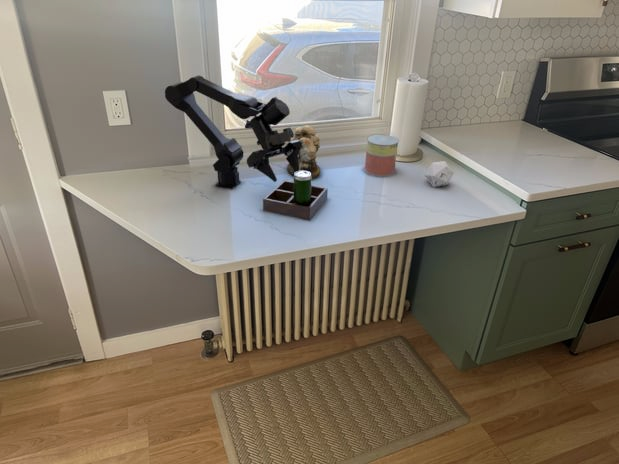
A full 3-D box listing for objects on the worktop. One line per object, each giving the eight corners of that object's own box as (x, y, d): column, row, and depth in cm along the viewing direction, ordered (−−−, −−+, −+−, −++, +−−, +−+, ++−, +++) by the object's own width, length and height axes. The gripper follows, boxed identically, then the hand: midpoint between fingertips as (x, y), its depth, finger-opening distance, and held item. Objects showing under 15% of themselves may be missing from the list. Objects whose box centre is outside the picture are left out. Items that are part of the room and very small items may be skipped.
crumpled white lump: (419, 186, 165) (432, 171, 156) (424, 166, 169) (437, 151, 160) (440, 195, 165) (454, 182, 156) (445, 176, 169) (460, 161, 160)
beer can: (299, 215, 141) (299, 178, 135) (290, 208, 144) (290, 172, 138) (314, 211, 143) (315, 175, 137) (304, 204, 147) (305, 168, 141)
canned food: (396, 176, 170) (400, 145, 163) (365, 176, 170) (368, 144, 163) (392, 165, 179) (396, 134, 173) (363, 164, 179) (365, 134, 173)
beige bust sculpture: (281, 163, 178) (281, 119, 170) (311, 160, 182) (312, 117, 173) (294, 181, 164) (295, 134, 155) (326, 178, 167) (328, 132, 158)
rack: (263, 210, 144) (262, 198, 142) (283, 191, 157) (283, 179, 155) (309, 220, 140) (310, 208, 138) (327, 199, 152) (327, 188, 150)
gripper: (250, 125, 133) (275, 173, 132) (299, 114, 144) (322, 158, 143) (236, 144, 142) (259, 189, 141) (283, 132, 153) (305, 174, 152)
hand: (287, 177), depth 144 cm, fingers open, 9 cm apart
